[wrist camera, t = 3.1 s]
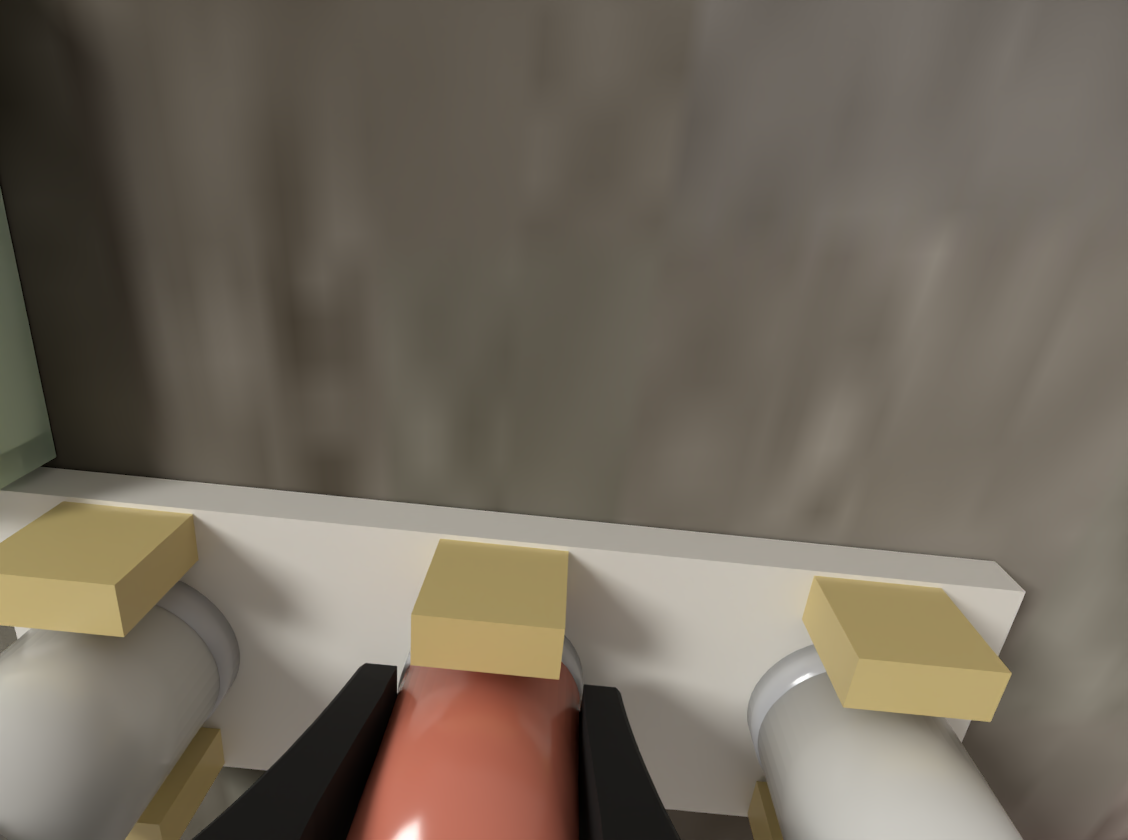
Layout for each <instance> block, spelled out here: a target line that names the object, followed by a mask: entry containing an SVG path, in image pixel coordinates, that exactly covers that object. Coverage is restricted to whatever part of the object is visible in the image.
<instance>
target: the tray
mask: <svg viewBox="0 0 1128 840" xmlns="http://www.w3.org/2000/svg"><path fill="white" fill-rule="evenodd" d="M54 458H56V452H55V447H54V442H53V438H52V433H51V428H50V423H49V418H48V414H47V409H46V404H45V399H44V394H43V390H42V385H41V380H40V375H39V370H38V366H37V361H36V356H35V351H34V346H33V342H32V337H31V332H30V327H29V322H28V318H27V313H26V308H25V303H24V298H23V294H22V289H21V284H20V279H19V274H18V270H17V265H16V260H15V255H14V250H13V246H12V241H11V236H10V231H9V226H8V222H7V217H6V212H5V207H4V202H3V198H2V193H1V188H0V489H1V488H3V487H5V486H7V485H8V484H10V483H12V482H14V481H15V480H17V479H19V478H21V477H22V476H24V475H26V474H28V473H29V472H31V471H33V470H35V469H36V468H38V467H40V466H42V465H43V464H45V463H47V462H49V461H51V460H52V459H54Z"/></svg>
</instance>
